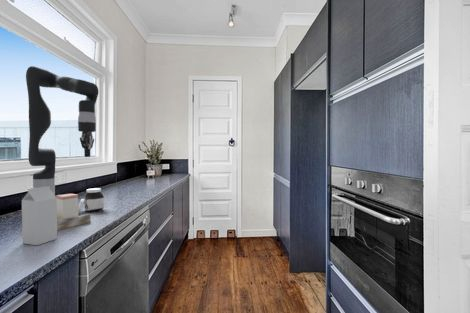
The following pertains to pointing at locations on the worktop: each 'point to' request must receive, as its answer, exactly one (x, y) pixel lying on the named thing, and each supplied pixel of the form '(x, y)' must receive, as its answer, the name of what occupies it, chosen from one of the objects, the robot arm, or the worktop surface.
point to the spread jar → (92, 200)
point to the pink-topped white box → (67, 206)
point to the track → (73, 221)
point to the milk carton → (39, 216)
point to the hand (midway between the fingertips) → (87, 156)
